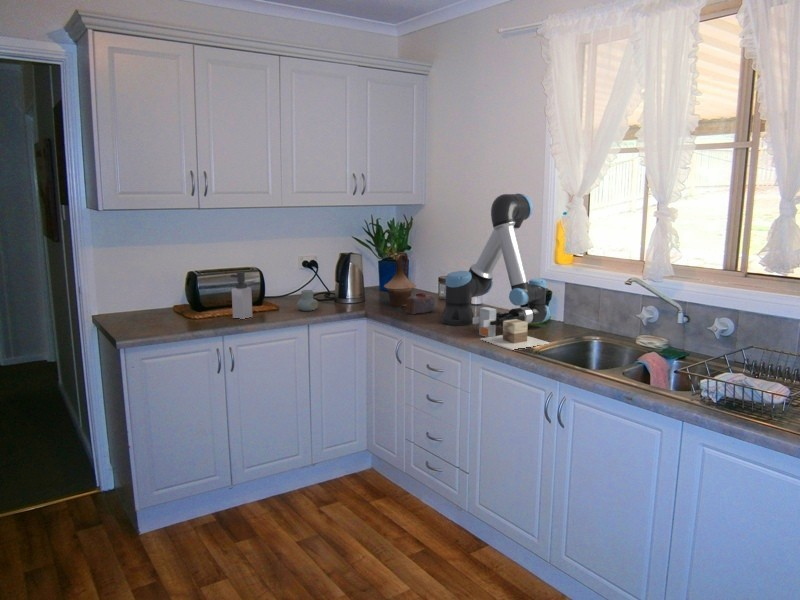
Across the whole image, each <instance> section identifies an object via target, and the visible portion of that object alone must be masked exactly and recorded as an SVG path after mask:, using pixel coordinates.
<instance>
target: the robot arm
mask: <svg viewBox="0 0 800 600" xmlns="http://www.w3.org/2000/svg"><path fill="white" fill-rule="evenodd" d="M533 211H534V206H533V202H532V200H531V198H530V197H529V196H528V195H526V194H522V193H503V194H501V195H498V196H496V198H495V199H494V200H493V202H492V204H491V208H490V217H491V218H490V220H491V224H492V228H493V230H492V232H491V234H490V236H489V238H488V239H487V240H486V241H487V242H486V243H485V245H484V247H483V249H482V251H481V253H480V256H479V257H478V259H477V261H476V263H474V264H471V266H470V268H469V269H468V271H467V270H458V271H451V272H449V273H448V274H447V275H446V277H445V279H446V280H445V307H444V309H443V312H442V316H441V323H443V324H445V325H450V326H469V325H476V324H480V316H475V317H474V313H473V310H472V307H471V305H472V304H471V302H472V298H475V297H481V296H483V295H486V294H488V293H490V291H491V290H492V288H493V285H494V281H493V278H494V273H493V271H494V269H495V268H496V265H497V264H498V262H499V260H500V258H501V256H502V257H503V261H504V265H505V268H506V273H507V276H508V279H509V284H510V289H511V290H510V292H509V294H508V299H509V301H510V303H511V304H512V305H514V306H518V307H516V308H511V309H510V310H509V311H508V312H504V313H501V312H496V319H490V320H483V327H488V326H495V325H496V326H497V327H499V326H500V327H503V321H506V320H513V319H518V320H521V321H525V322H528V325H529V324H535V323H537V324H538V323H543V322H546V321H548V320H549V319H550V317H551V311H550V307H549V306H548V305H547V304H546V299H547V298H546V296H547V282H546V281H547V280H545V279H541V278H532V279H530V280H529V281H528V277H527V272H526V269H525V266H524V260H523V258H522V257H523V256H522V253H521V249H520V245H519V242H518V238H517V233H516V230H518V229H520V228H521V226H522V224H523V222H524V221H526V220H528V219H529V218H530V217H531V215H532V214H533ZM525 305H527V306H525ZM519 306H521V307H519ZM522 306H524V307H522Z"/></svg>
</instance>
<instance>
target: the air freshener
mask: <svg viewBox="0 0 800 600" xmlns="http://www.w3.org/2000/svg"><path fill="white" fill-rule="evenodd" d="M300 292H301V298H300V299H299V300H297V303H296V307H297V308H298V310H300V311H303V312H312V310H313V311H315V310H316V309H317V308H318V306H319V301H318V300H317V299H315V298H314V291H313V290H312V289H303V290H301V291H300Z"/></svg>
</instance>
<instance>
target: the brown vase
mask: <svg viewBox="0 0 800 600" xmlns="http://www.w3.org/2000/svg"><path fill="white" fill-rule="evenodd" d="M389 257H390V258H394V261H395V264H396V269H395V273H394V275H393V277H392V278H391V279H390V280H389V281H388V282H387V283H385V284H384V285H383V288H385V289H387V291H388V292H387V293H388V296H389V297H388V298H389V306H390V307H396V306H404V307H407V299H408V297H412V291H413V289H414V288H416V287H417V285H416V284H415V283H414V282H412V281H411V280H410V279H408V277H407V270H408V269H407V267H408V264H409V263H408V262H409V259H408V258H409V256H408V254H407V252H404V251H403V252H400V251H399V252H398V254H390V255H389ZM403 262H404V265H403Z"/></svg>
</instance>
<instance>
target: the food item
mask: <svg viewBox="0 0 800 600" xmlns="http://www.w3.org/2000/svg"><path fill="white" fill-rule="evenodd" d="M435 302H436V300H435V299H434V297H433V296H432V295H430V294H425V293H419V292H418V293H416V294H415V295H414V296H411V297H408V299H407V306H406V313H407V314H410V313H411V315H416V313H419V314H426V313H430V312H429V311H431V312H432V311H434V310H435V309H436V307H435V304H436V303H435ZM425 312H426V313H425Z"/></svg>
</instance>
